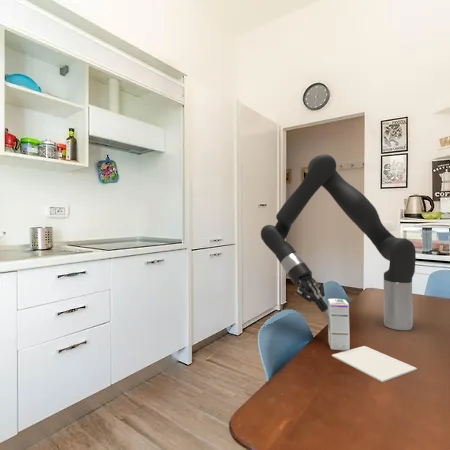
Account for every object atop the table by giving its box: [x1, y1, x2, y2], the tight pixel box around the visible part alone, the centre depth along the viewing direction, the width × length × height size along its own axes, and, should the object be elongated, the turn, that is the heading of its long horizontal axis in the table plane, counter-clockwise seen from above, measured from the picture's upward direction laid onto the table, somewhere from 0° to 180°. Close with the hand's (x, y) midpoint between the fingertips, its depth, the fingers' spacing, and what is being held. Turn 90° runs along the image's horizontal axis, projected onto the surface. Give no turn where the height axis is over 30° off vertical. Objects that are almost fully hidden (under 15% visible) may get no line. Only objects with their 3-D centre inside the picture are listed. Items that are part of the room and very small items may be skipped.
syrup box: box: [327, 298, 351, 352], centre depth 93 cm, size 6×6×14 cm
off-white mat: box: [331, 345, 418, 383], centre depth 83 cm, size 14×16×1 cm
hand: (325, 310), depth 97 cm, fingers closed
